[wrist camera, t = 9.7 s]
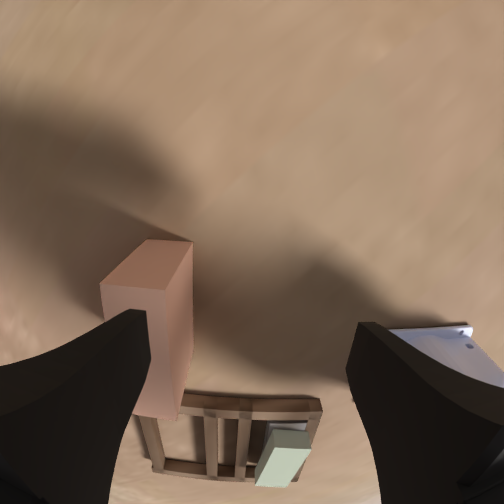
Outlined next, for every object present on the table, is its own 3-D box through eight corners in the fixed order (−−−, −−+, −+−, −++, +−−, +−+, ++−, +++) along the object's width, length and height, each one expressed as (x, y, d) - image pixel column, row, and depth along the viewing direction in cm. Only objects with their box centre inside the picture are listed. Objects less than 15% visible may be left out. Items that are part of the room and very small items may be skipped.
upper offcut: (308, 431, 22) (311, 449, 20) (284, 471, 24) (286, 487, 22) (273, 428, 22) (274, 447, 20) (254, 469, 24) (254, 485, 22)
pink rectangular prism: (193, 241, 19) (165, 290, 12) (193, 349, 21) (176, 421, 14) (146, 239, 19) (99, 283, 12) (153, 345, 21) (125, 412, 14)
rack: (319, 398, 23) (322, 411, 21) (295, 470, 26) (297, 481, 25) (136, 386, 22) (131, 398, 21) (155, 461, 26) (153, 472, 25)
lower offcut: (303, 406, 24) (306, 423, 22) (288, 461, 26) (289, 475, 24) (268, 406, 24) (269, 423, 22) (259, 461, 26) (259, 475, 24)
